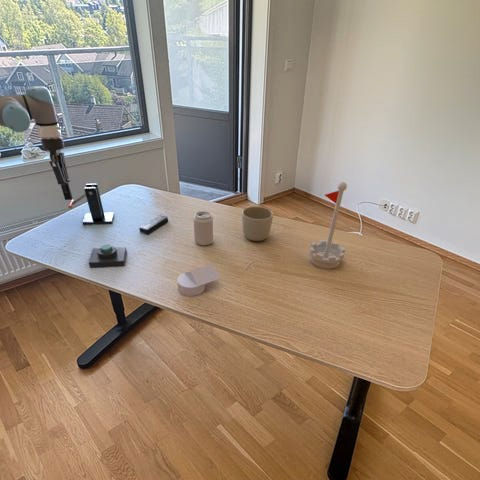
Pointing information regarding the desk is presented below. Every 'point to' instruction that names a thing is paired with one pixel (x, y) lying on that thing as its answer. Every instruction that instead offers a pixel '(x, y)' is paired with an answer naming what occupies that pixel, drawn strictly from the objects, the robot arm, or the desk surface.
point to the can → (203, 228)
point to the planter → (256, 222)
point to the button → (106, 248)
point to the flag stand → (329, 238)
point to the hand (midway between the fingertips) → (68, 199)
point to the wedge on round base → (196, 280)
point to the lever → (77, 200)
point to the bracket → (95, 208)
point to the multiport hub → (153, 224)
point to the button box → (108, 257)
